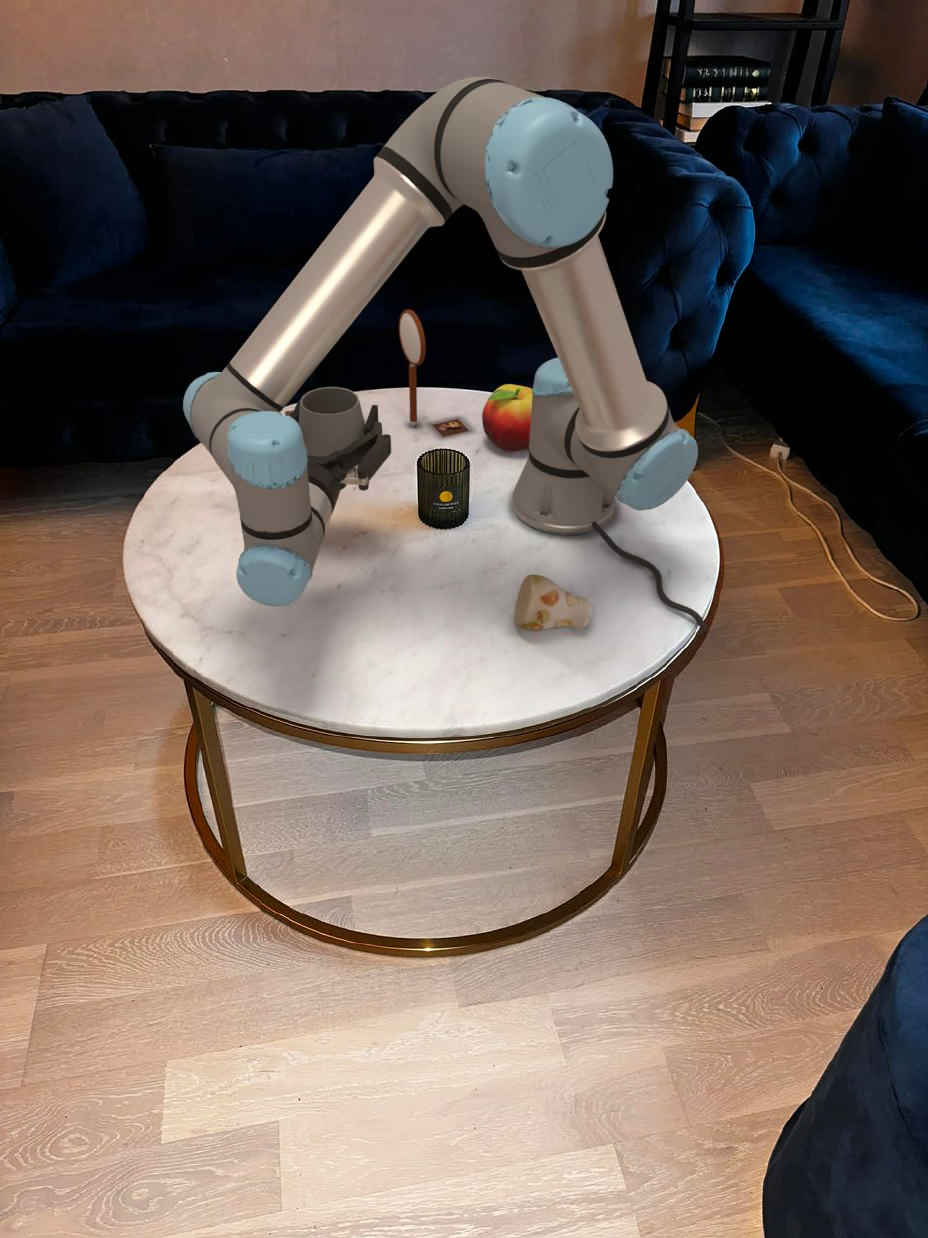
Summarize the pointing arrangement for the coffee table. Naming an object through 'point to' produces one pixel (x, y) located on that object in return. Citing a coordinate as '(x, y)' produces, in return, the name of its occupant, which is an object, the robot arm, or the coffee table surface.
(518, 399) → the fruit
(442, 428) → the picture card
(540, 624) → the beige spotted lump
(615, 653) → the coffee table surface
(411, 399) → the magnifying glass
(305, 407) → the cup
